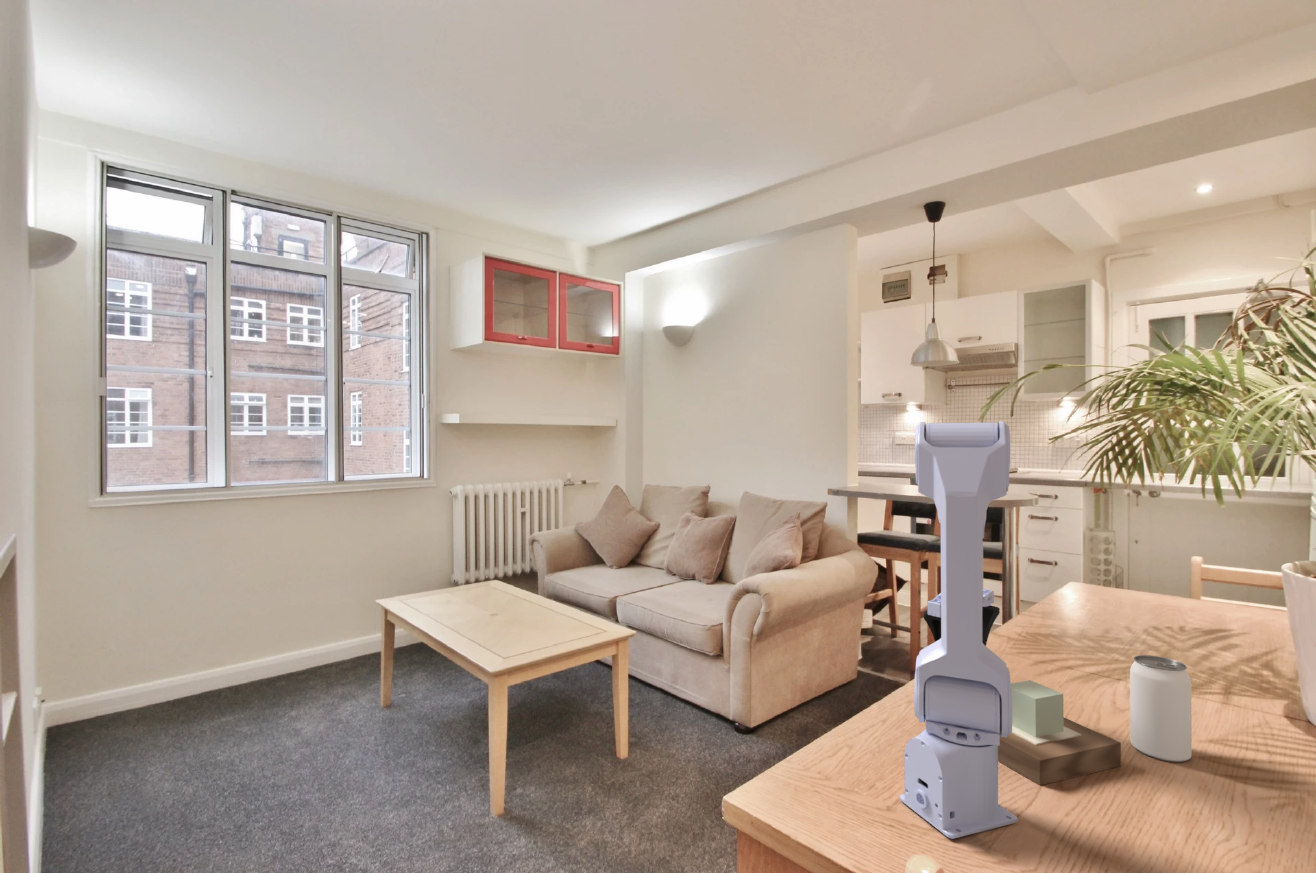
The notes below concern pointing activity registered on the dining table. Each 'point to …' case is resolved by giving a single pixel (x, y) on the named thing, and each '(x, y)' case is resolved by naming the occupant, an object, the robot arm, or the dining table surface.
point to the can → (1160, 708)
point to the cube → (1036, 708)
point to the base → (1059, 753)
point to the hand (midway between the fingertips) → (962, 657)
